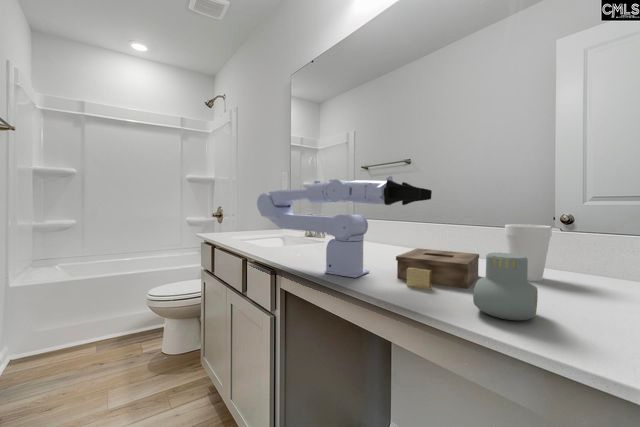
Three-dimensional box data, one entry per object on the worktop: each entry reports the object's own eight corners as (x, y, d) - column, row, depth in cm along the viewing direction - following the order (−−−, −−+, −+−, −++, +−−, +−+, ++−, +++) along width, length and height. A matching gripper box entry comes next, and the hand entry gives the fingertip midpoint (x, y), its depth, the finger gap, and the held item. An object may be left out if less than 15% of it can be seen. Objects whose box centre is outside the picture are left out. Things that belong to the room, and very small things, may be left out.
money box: (395, 278, 74) (395, 256, 74) (417, 267, 87) (417, 248, 87) (466, 289, 65) (467, 264, 65) (478, 275, 78) (479, 253, 77)
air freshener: (484, 301, 57) (485, 248, 57) (537, 311, 52) (539, 253, 52) (470, 318, 49) (471, 256, 48) (532, 332, 44) (534, 263, 43)
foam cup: (535, 273, 79) (536, 224, 79) (559, 283, 70) (561, 227, 69) (497, 273, 80) (498, 224, 80) (516, 282, 71) (517, 227, 70)
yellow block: (406, 286, 68) (406, 268, 68) (409, 284, 69) (409, 267, 69) (429, 290, 65) (429, 271, 65) (431, 288, 66) (431, 270, 66)
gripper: (357, 173, 69) (415, 173, 61) (384, 178, 81) (436, 178, 73) (355, 204, 70) (413, 207, 62) (382, 204, 81) (434, 207, 73)
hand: (425, 194), depth 67 cm, fingers open, 7 cm apart
